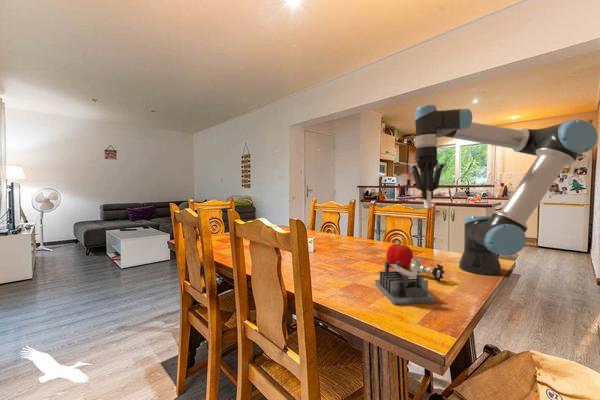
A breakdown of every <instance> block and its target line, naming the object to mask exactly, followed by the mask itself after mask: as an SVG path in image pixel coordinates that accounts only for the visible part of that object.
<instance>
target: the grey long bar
mask: <svg viewBox="0 0 600 400" xmlns="http://www.w3.org/2000/svg"><path fill="white" fill-rule="evenodd" d="M389 268H391V269H392V270H393V271H397V272H399V273H400V274H402V275H407V276H408V279H417V272H408V271H409V270H406V269H405V268H404V267H403V268H401V267H400V266H398V265H396V264H393V265H390V264H389Z"/></svg>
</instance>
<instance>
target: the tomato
mask: <svg viewBox="0 0 600 400" xmlns="http://www.w3.org/2000/svg"><path fill="white" fill-rule="evenodd" d="M413 254H414V252H413V251H412V249H411V248H410V247H409V245H407V244H400V243H391V245H389V247H388V248H387V251H386V258H385V259H386V261H388V262H389V265H393V264H396V261H400V262H401V268H403V269H404V268H406V267H408V266H409V267H410V266H411V263H412V258H414V255H413Z"/></svg>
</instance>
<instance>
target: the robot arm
mask: <svg viewBox="0 0 600 400" xmlns="http://www.w3.org/2000/svg"><path fill="white" fill-rule="evenodd" d="M414 113H415V115H414V123H415V124H414V125H415V147H417V148H416V149H415V158H416V160H415V163H414V164H413V165H410V166H409V169H410V170H411V172H412V176H413V179H414V183H415V187H416V189H417V190H419V191H420V192H421V199H422V200H423V208H424V209H425V208H426V209H432V200H433V199H434V191H435V190H437V189H438V188H439V184H440V180H441V175H442V170H443V169H444V166H445V165H444V164H443V163H442V164H441V163H440V162H439V160H438V147H437V145H438V138H442V137H444V138H452V139H456V140H463V141H468V142H473V143H479V144H485V145H490V146H496V147H501V148H509V149H511V150H513V152H516V153H520V154H526V155H531V156H535V157H536V158H535V160H534V161H533V162H532V164H531V166H530V167H529V169H528V170H527V171H526V173H525V175H524V176H523V178H522V179H521V180H520V182H519V183H518V184H517V186H516V188H515V189H514V191H512V194H511V195H510V196H509V198H508V200H507V201H506V203H505V204H504V205H503V206H502V208H501V210H500V211H495V212H492V215H491V216H489V215H487V216H485V215H484V216H482V215H481V216H478V215H477V216H475V215H474V216H473V215H472V216H467V217H465V219H464V223H463V225H464V234H463V236H464V237H463V238H464V239H463V240H464V241H463V242H464V244H463V245H464V247H463V248H464V249H463V252H462V255H461V257H460V260H459V264H458V265H459V267H458V268H459V269H460V270H462V271H464V272H469V273H472V274H478V275H490V276H492V275H493V276H494V275H500V274H502V265H501V264H500V260H499V259H500V258H499V257H498V255H500V256H512V255H516V254H518V253H519V252H520V251H522V249H523V248H524V247H525V246H526V242H527V238H526V232H527V231H528V228H529V227H528V224H527V222H528V220H529V219H530V217H531V216H532V215H533V213H534V211H535V210H536V209H537V207H538V206H539V204H540V203H541V202H542V200H543V199H544V198H545V196H546V195H547V193H548V191H549V190H550V189H551V187H552V186H553V184H554V183H555V181H556V180H557V179H558V177H559V176H560V174H561V173H562V171H563V170H564V168H565V167H567V166H571V165H573V164H574V163H575V162H576V160H577V159H578V158H579V156H580V155H581V154H585V153H587V152H589V151H591V150H593V149H594V148H595V146H596V145H597V143H598V138H599V133H598V132H597V128H596V127H595V126H594V125H593V124H592V123H591V122H589V121H587V120H584V119H573V120H567V121H566V120H565V121H564V122H561V123H559V124H555V125H551V126H547V127H543V128H536V129H534V128H526V127H525V128H521V129H514V128H508V127H503V126H497V125H490V124H484V123H479V122H473V114H472V113H473V112H472V110H470V109H469V108H457V109H455V108H454V109H444V110H438V109H437V105H435V104H425V105H420V106H418V107H417V108H416V109H415V112H414Z"/></svg>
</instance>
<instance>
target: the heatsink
mask: <svg viewBox="0 0 600 400" xmlns="http://www.w3.org/2000/svg"><path fill="white" fill-rule="evenodd" d="M389 265H390V264H389V262H388V261H387V260H386V261H384V271H379V279H375V281H374V282H375V286H376V288H377V289H378V290H379V291H380V292H381V293H382V294H383V295H384V296H385V297H386V298H387V300H389V302H391V304H392V305H395V306H396V305H420V304H421V305H423V304H435V302H436V298H435V297H436V296H434V295H433V294H432V293H430V291H429V280H428V279H425V278H424V277H423V275H422V274H421V273H420V274H417V279H408V276H407V275H402V274H400V273H399V272H397V271H396V270H392V271H391V270H390V267H389ZM396 265H398V266H400V267H401V262H400V261H396ZM407 271H408V272H414V271H412V270H407Z"/></svg>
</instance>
